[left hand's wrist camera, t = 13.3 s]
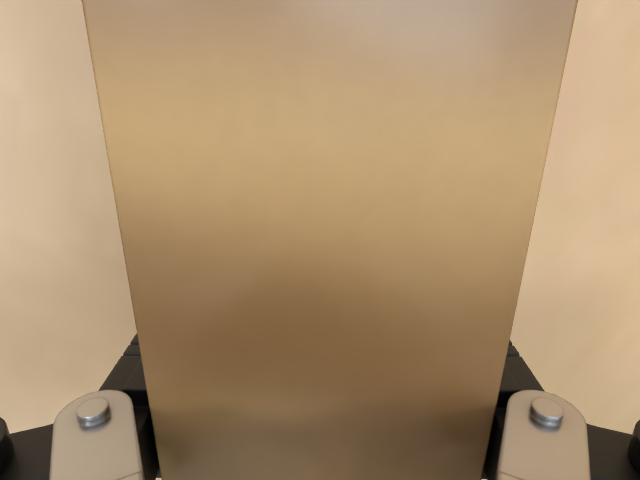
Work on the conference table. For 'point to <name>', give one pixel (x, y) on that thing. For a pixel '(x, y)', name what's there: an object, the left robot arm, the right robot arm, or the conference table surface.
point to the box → (326, 222)
